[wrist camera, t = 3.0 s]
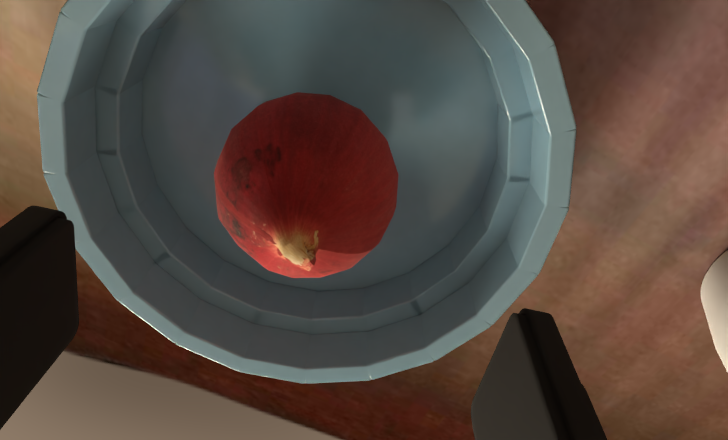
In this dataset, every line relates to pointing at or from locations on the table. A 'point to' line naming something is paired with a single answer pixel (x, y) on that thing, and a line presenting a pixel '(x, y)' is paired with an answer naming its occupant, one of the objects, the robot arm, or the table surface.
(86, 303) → the table surface
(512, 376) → the robot arm
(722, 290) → the cup
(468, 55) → the pan
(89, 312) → the table surface
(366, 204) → the onion
